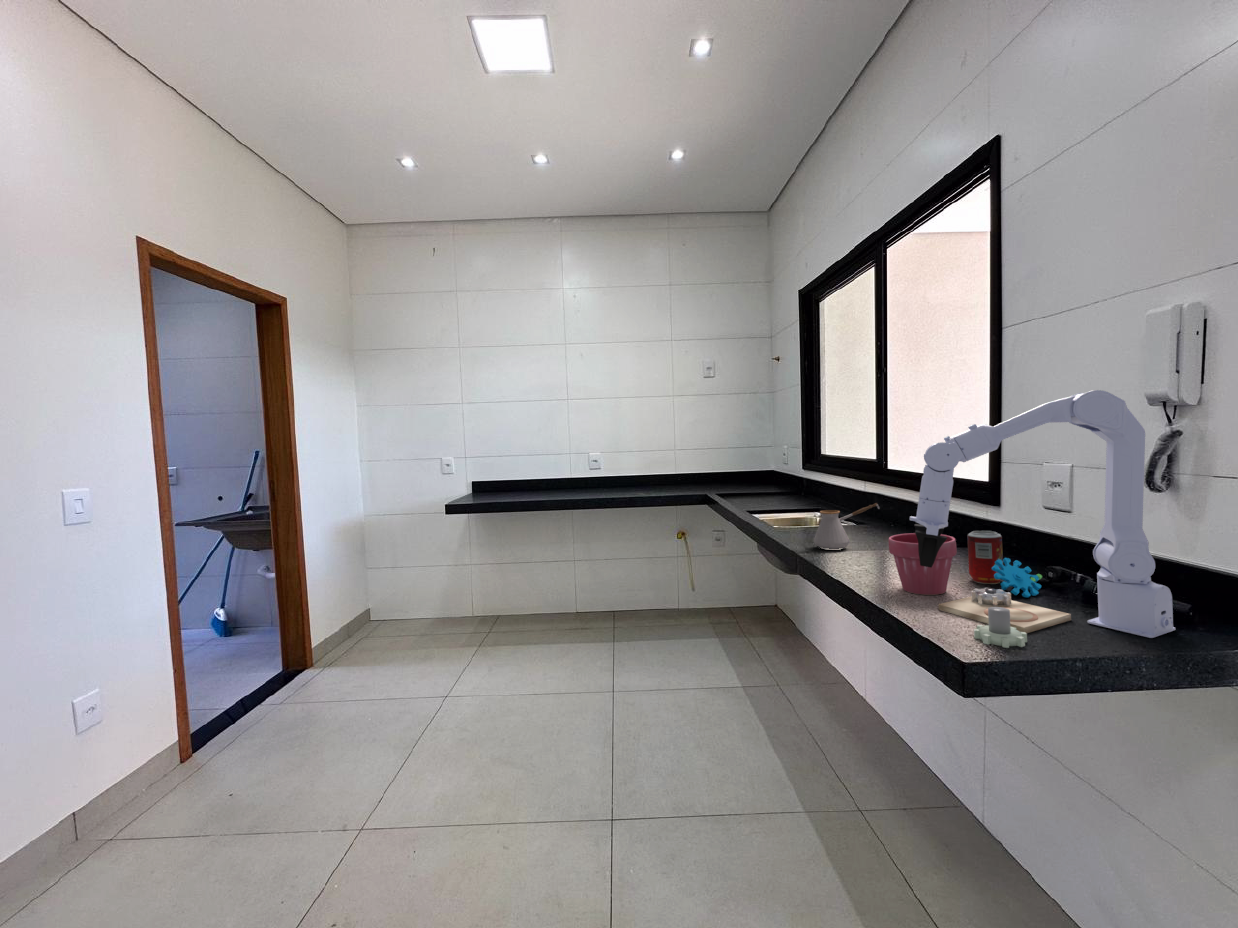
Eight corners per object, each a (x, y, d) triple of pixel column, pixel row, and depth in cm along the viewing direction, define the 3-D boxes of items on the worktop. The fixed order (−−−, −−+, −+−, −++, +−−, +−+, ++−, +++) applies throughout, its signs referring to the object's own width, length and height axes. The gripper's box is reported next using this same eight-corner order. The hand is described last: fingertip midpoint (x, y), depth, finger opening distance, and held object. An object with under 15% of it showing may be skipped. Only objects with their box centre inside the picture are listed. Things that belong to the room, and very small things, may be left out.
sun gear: (1018, 602, 111) (1018, 590, 111) (997, 608, 108) (996, 595, 108) (985, 594, 117) (985, 583, 117) (964, 600, 114) (963, 588, 114)
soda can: (1006, 585, 126) (1004, 534, 126) (971, 583, 130) (968, 534, 129) (1001, 578, 133) (998, 529, 132) (967, 576, 136) (965, 529, 136)
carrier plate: (1071, 620, 102) (1070, 613, 102) (1024, 633, 97) (1024, 626, 97) (982, 598, 118) (982, 592, 118) (938, 609, 113) (938, 603, 113)
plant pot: (877, 586, 133) (875, 535, 133) (925, 579, 136) (923, 530, 135) (921, 601, 119) (918, 545, 119) (973, 594, 122) (971, 539, 121)
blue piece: (1008, 593, 116) (987, 554, 123) (992, 606, 120) (973, 568, 127) (1056, 596, 116) (1033, 557, 123) (1039, 609, 121) (1017, 571, 127)
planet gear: (1037, 642, 93) (1036, 611, 93) (1008, 651, 91) (1007, 619, 90) (992, 628, 101) (991, 600, 100) (964, 636, 98) (962, 607, 98)
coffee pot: (816, 552, 175) (814, 507, 175) (811, 545, 186) (809, 503, 186) (886, 551, 170) (883, 505, 170) (876, 544, 182) (874, 501, 181)
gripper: (912, 492, 119) (903, 551, 121) (913, 500, 107) (904, 565, 108) (948, 497, 116) (939, 557, 118) (954, 506, 103) (944, 573, 105)
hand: (925, 562), depth 113 cm, fingers open, 7 cm apart
